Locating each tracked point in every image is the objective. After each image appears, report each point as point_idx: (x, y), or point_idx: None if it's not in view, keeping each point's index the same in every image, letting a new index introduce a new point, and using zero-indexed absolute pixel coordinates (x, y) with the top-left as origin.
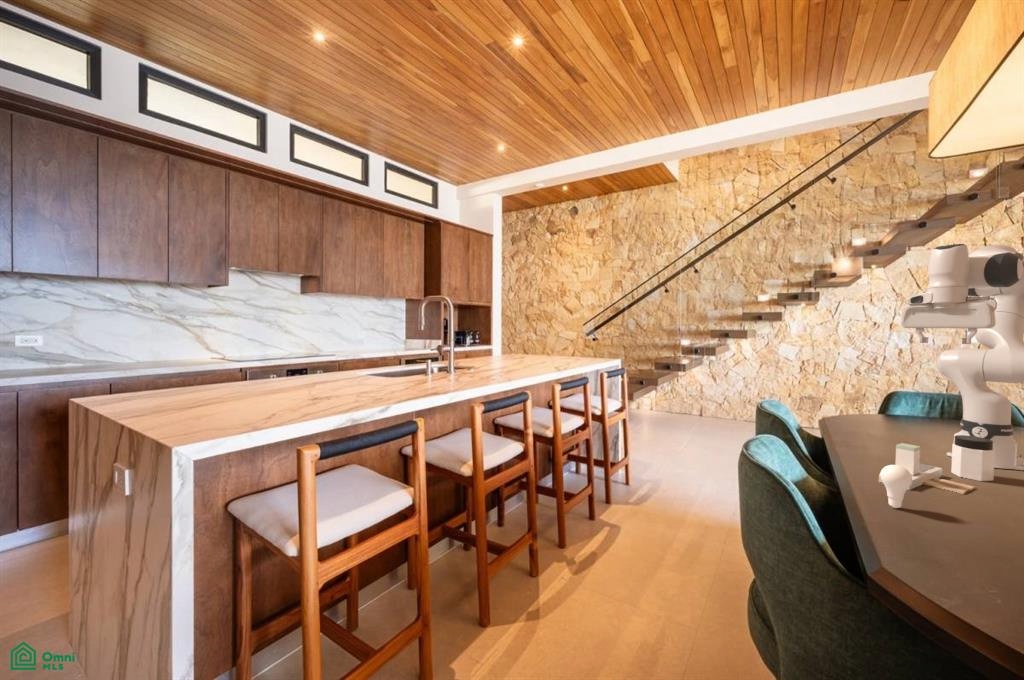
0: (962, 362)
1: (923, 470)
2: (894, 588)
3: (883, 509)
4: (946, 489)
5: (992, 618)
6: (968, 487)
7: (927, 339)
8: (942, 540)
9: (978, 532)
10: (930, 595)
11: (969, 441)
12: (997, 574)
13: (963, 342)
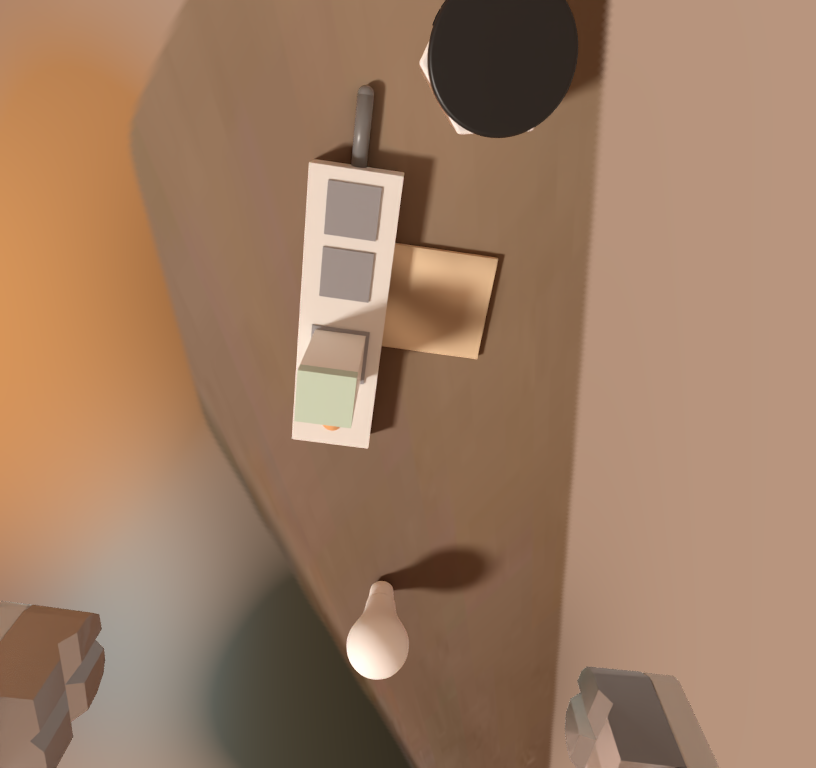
0: None
1: (367, 287)
2: None
3: None
4: (438, 351)
5: None
6: (484, 288)
7: (66, 689)
8: (471, 668)
9: (514, 597)
10: None
11: (490, 136)
12: (536, 721)
13: (584, 751)
